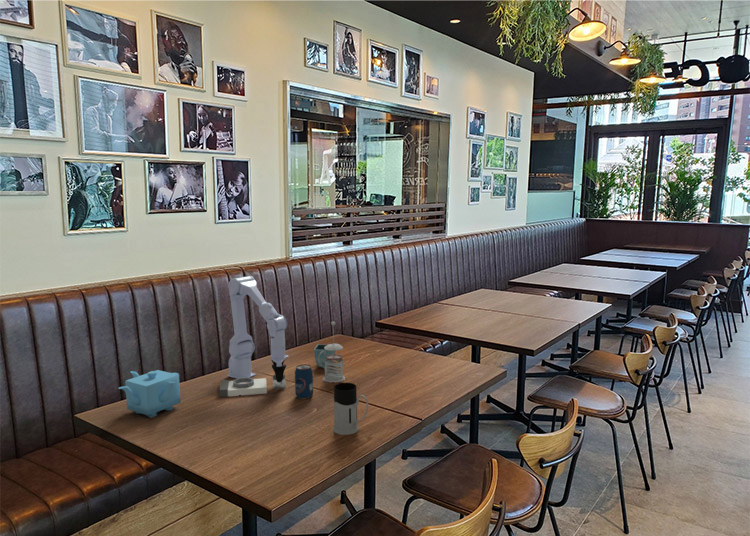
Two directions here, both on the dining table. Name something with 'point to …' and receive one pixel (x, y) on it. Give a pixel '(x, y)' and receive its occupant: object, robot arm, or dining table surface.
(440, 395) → the dining table surface
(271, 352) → the robot arm
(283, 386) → the lens
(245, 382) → the camera body
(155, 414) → the teakettle
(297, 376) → the soda can
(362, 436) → the dining table surface
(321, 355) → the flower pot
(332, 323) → the french press
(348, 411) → the grey and black mug
